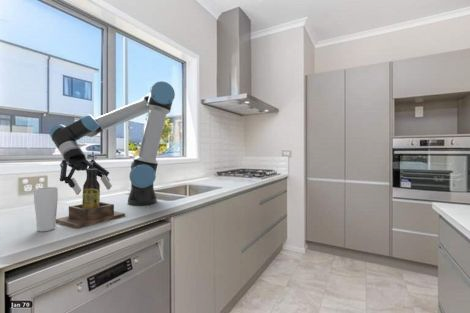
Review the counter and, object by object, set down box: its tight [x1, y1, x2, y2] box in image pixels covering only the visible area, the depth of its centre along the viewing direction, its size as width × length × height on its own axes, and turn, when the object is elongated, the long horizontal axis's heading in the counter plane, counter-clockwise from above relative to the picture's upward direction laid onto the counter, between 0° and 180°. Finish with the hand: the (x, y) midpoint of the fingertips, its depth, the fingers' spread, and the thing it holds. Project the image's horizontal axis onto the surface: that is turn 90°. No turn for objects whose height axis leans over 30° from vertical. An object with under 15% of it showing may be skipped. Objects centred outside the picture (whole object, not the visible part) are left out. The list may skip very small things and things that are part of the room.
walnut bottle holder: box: [56, 201, 126, 229], centre depth 101 cm, size 20×16×6 cm
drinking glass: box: [33, 186, 59, 232], centre depth 87 cm, size 7×7×15 cm
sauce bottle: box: [81, 169, 101, 209], centre depth 101 cm, size 6×6×20 cm
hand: (95, 190), depth 100 cm, fingers open, 13 cm apart
